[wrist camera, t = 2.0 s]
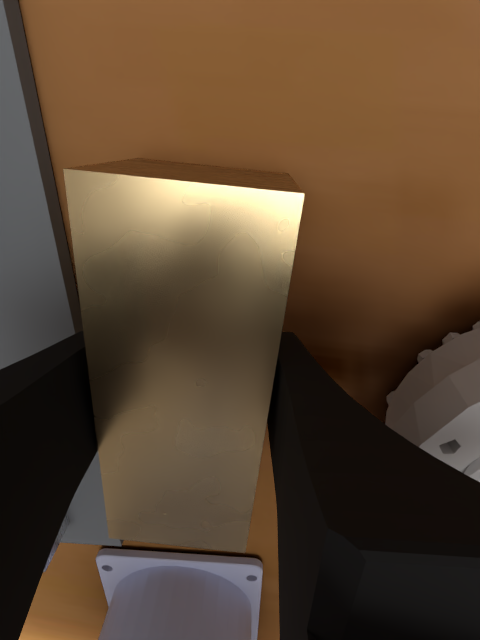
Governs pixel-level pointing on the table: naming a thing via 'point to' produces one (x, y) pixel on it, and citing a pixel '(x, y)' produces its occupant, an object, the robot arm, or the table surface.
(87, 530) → the join mat
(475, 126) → the table surface
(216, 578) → the robot arm
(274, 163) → the table surface
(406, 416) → the mechanical component
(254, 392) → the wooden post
